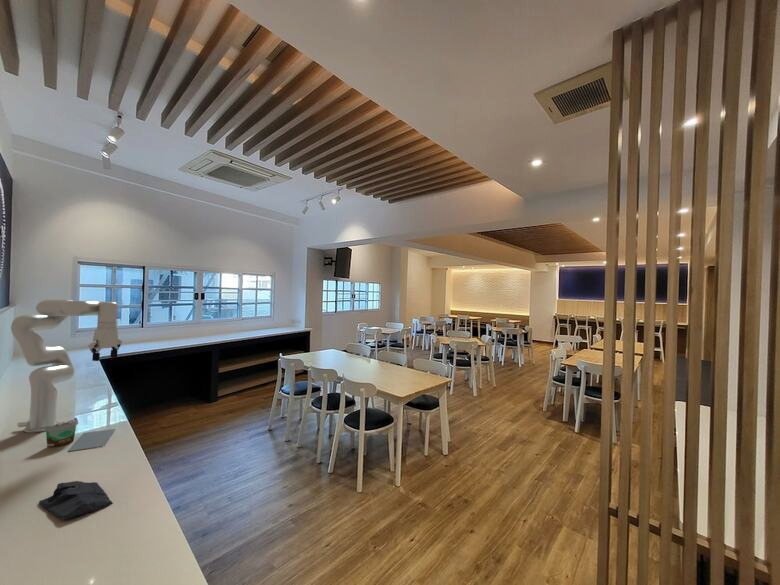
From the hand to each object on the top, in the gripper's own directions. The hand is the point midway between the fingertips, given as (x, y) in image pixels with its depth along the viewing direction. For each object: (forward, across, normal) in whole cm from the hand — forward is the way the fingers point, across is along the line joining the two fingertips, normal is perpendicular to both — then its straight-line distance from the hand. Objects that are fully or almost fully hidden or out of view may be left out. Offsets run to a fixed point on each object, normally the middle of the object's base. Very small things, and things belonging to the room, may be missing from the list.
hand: (105, 359), depth 167 cm
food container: (+38, +14, -4) cm, 40 cm away
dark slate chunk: (+38, +52, +45) cm, 79 cm away
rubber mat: (+37, +8, +5) cm, 39 cm away
